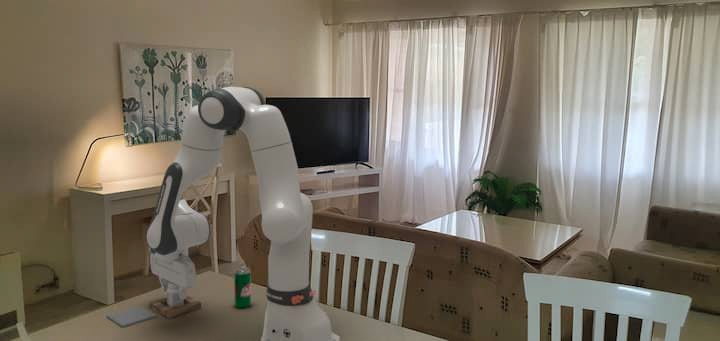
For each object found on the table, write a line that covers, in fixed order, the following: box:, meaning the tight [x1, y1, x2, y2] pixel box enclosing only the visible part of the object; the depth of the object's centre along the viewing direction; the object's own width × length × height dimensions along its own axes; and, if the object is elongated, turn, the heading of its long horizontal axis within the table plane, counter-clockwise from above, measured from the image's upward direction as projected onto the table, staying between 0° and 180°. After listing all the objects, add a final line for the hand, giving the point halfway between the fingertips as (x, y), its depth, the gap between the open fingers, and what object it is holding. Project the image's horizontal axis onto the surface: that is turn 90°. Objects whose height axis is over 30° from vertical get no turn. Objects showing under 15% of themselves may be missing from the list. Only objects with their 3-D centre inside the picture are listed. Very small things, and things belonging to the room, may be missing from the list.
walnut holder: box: [149, 294, 202, 319], centre depth 167 cm, size 11×11×2 cm
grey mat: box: [106, 305, 157, 328], centre depth 160 cm, size 10×10×1 cm
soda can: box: [233, 266, 252, 309], centre depth 170 cm, size 5×5×12 cm
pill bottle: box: [166, 281, 184, 308], centre depth 167 cm, size 5×5×8 cm
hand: (173, 294), depth 167 cm, fingers open, 8 cm apart
